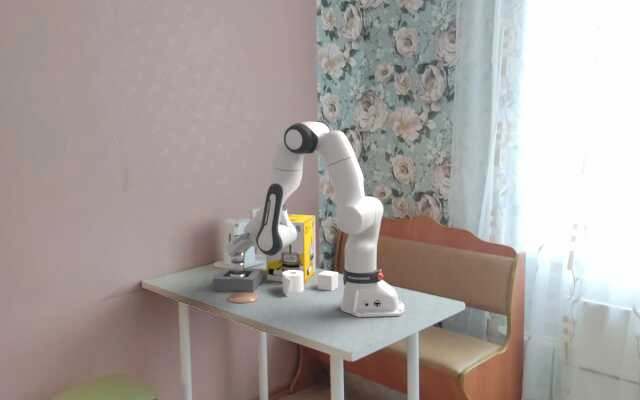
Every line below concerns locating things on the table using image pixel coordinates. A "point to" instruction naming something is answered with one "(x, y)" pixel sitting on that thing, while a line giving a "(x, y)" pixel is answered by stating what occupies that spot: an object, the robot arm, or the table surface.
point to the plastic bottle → (238, 264)
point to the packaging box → (296, 251)
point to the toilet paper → (292, 281)
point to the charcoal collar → (237, 281)
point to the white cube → (328, 280)
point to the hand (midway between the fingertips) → (236, 253)
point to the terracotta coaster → (243, 297)
